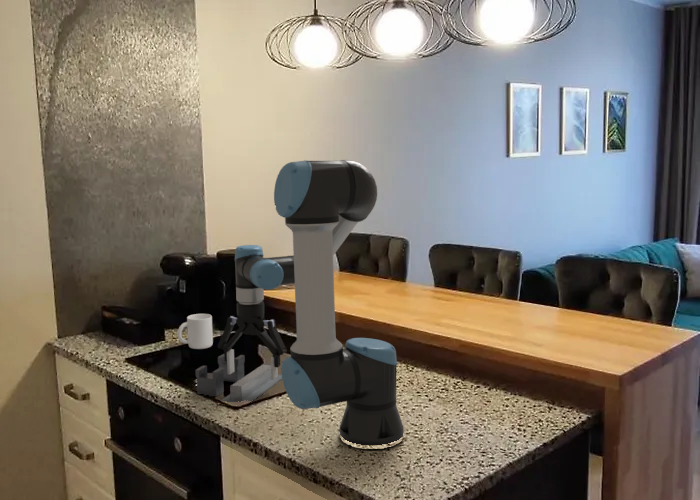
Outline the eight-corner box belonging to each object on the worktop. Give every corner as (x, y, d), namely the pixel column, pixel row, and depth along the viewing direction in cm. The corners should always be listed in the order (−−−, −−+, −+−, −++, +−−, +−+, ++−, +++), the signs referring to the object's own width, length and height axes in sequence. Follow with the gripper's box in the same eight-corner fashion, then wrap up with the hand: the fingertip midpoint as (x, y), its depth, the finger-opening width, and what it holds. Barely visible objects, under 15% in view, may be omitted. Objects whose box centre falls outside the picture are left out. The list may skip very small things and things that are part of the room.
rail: (240, 401, 183) (240, 387, 183) (230, 400, 184) (230, 385, 184) (273, 377, 202) (273, 364, 201) (264, 376, 203) (263, 363, 202)
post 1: (217, 397, 188) (216, 372, 187) (196, 394, 190) (195, 369, 189) (224, 392, 192) (223, 367, 191) (204, 389, 194) (203, 365, 193)
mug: (182, 352, 228) (180, 322, 226) (174, 346, 235) (172, 317, 233) (216, 346, 234) (215, 317, 233) (208, 341, 241) (206, 312, 240)
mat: (243, 408, 180) (243, 407, 180) (216, 404, 182) (216, 403, 182) (285, 376, 204) (285, 375, 204) (261, 373, 207) (261, 372, 207)
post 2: (238, 382, 199) (237, 359, 198) (218, 380, 201) (217, 357, 200) (245, 378, 203) (244, 355, 202) (225, 375, 205) (224, 353, 204)
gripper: (297, 301, 189) (298, 375, 192) (217, 295, 197) (220, 366, 200) (285, 307, 182) (287, 384, 185) (203, 301, 190) (206, 374, 193)
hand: (252, 375), depth 193 cm, fingers open, 13 cm apart
